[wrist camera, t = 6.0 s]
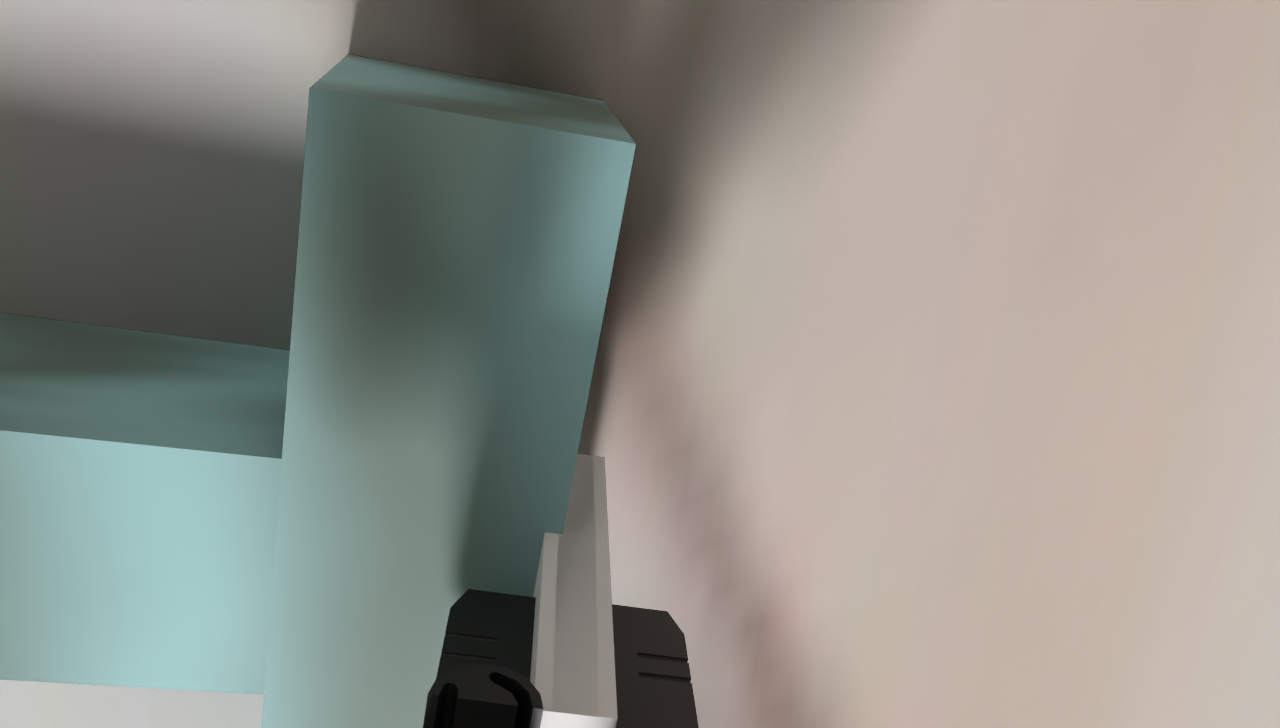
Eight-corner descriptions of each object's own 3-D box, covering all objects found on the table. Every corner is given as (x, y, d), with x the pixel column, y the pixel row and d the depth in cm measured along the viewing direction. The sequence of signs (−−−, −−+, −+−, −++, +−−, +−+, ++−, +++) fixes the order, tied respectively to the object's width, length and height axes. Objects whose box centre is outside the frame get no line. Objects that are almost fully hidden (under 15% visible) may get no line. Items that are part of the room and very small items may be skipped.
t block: (603, 98, 17) (636, 144, 13) (485, 769, 22) (485, 938, 18) (-410, -83, 14) (-727, -90, 10) (-280, 733, 19) (-463, 925, 15)
